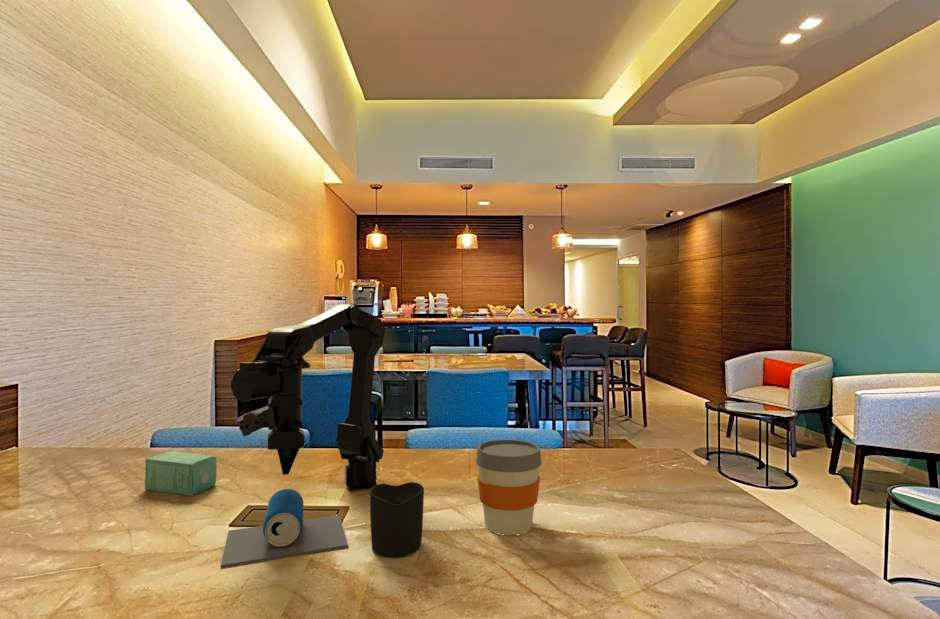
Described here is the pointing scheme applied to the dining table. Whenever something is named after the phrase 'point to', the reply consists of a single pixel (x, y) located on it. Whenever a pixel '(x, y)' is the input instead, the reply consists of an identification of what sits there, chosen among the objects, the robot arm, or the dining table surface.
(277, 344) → the robot arm
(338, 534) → the mat
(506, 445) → the reusable coffee cup
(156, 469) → the box
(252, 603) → the dining table surface
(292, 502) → the beverage can
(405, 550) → the pen holder
